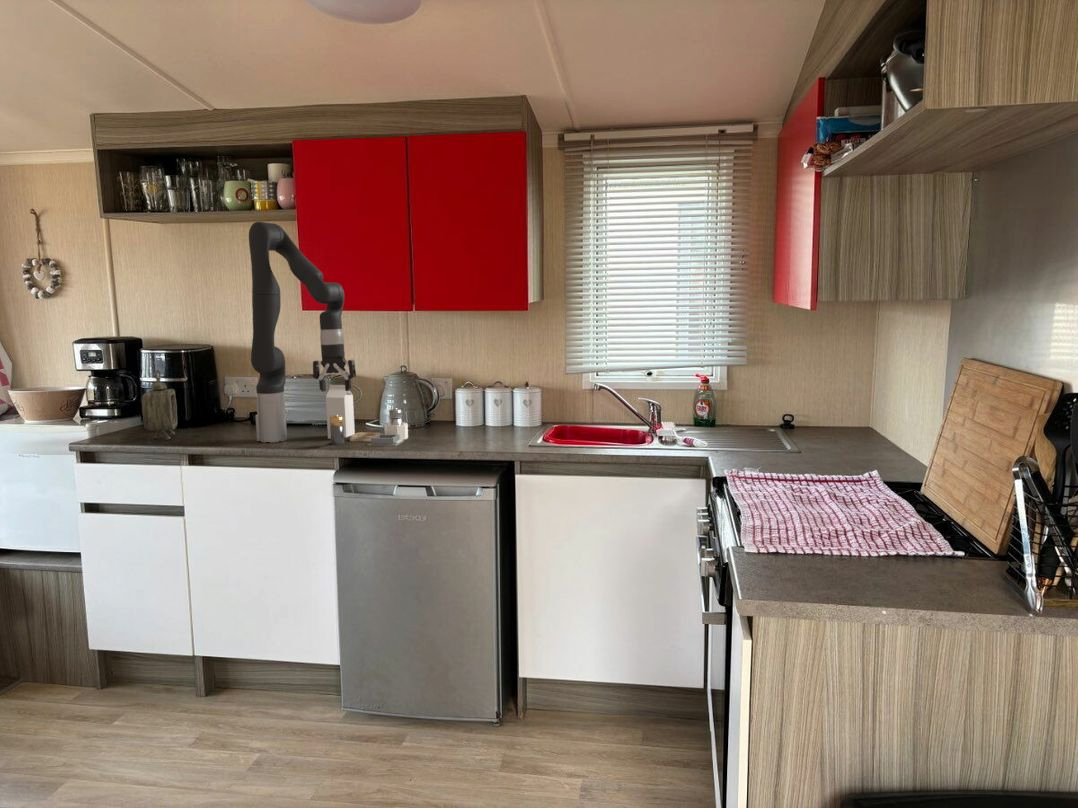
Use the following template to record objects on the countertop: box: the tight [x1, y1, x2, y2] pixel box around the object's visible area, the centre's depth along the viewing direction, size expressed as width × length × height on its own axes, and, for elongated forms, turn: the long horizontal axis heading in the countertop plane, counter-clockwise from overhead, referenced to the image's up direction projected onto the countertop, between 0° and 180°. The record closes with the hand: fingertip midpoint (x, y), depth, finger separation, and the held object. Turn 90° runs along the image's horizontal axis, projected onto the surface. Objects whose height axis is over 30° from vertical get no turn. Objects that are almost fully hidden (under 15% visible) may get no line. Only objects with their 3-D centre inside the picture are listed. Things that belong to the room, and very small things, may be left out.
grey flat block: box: [366, 433, 405, 447], centre depth 265 cm, size 10×9×3 cm
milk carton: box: [325, 384, 356, 440], centre depth 280 cm, size 7×7×19 cm
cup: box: [383, 421, 409, 441], centre depth 274 cm, size 7×7×6 cm
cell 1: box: [330, 415, 345, 446], centre depth 265 cm, size 4×4×11 cm
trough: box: [349, 432, 383, 442], centre depth 272 cm, size 9×7×2 cm
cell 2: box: [388, 407, 403, 426], centre depth 273 cm, size 4×4×11 cm
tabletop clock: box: [141, 369, 178, 440], centre depth 282 cm, size 14×9×25 cm, turn 16°
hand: (335, 391), depth 263 cm, fingers open, 8 cm apart
